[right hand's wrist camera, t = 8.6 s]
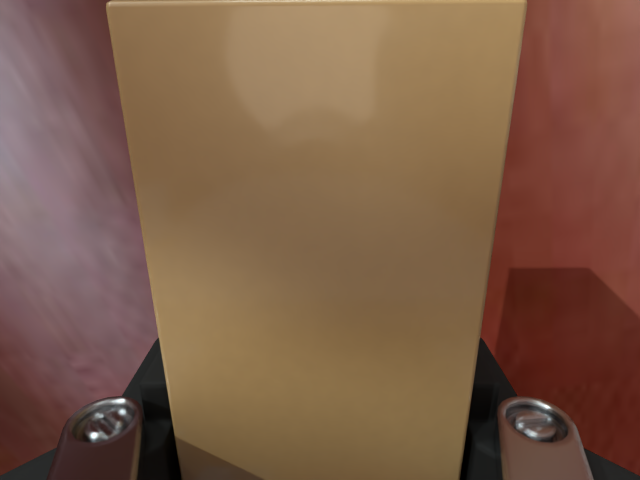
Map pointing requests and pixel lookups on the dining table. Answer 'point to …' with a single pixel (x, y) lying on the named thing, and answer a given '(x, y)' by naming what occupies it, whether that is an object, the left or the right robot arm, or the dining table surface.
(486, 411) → the right robot arm
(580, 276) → the dining table surface
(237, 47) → the post
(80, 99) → the dining table surface
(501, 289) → the dining table surface
